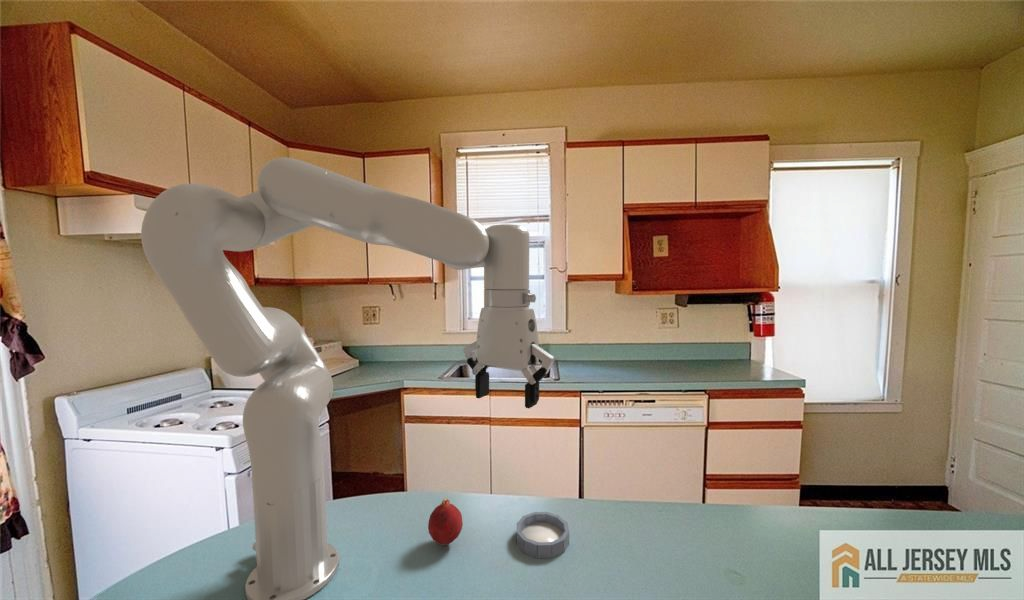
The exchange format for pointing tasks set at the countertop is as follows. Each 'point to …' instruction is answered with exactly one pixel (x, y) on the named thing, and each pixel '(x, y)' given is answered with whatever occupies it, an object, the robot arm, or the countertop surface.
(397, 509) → the countertop surface
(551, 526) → the gray dish
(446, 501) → the onion
